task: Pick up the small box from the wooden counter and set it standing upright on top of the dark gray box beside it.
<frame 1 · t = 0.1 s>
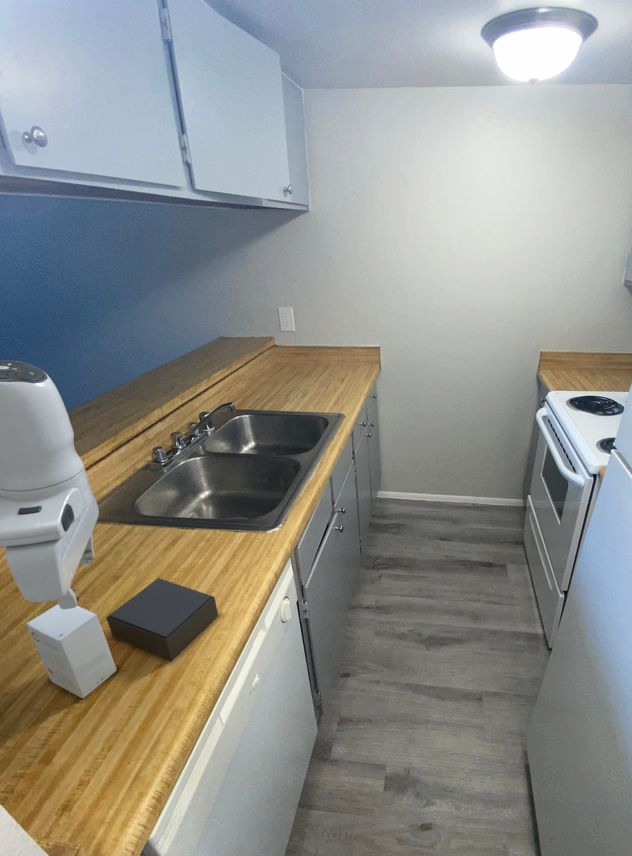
hand: (79, 581, 65), 25 cm above the worktop, tool pointing down, fingers open, 8 cm apart
small box: (85, 676, 80), on the worktop
dark gray box: (167, 626, 90), on the worktop
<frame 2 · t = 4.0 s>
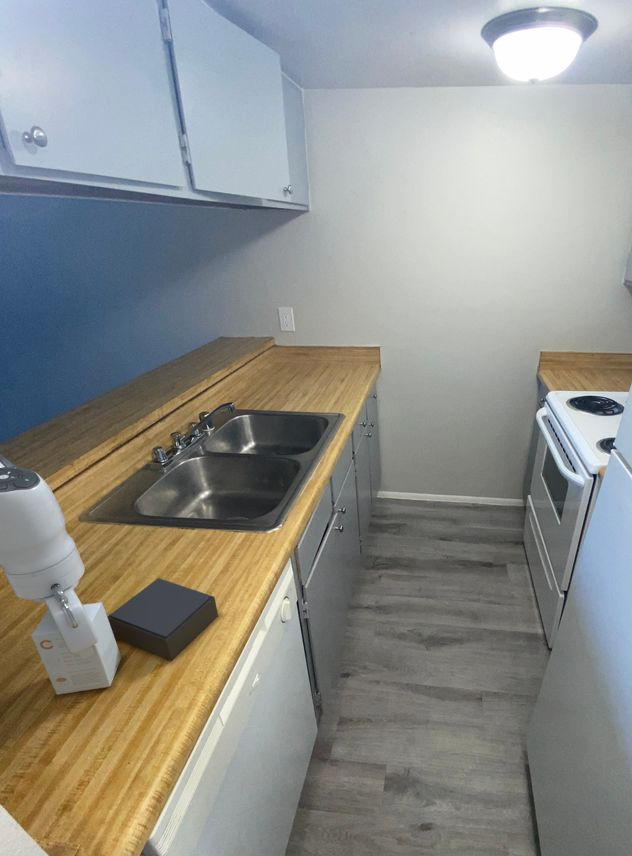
hand: (77, 637, 76), 9 cm above the worktop, tool pointing down, fingers open, 8 cm apart
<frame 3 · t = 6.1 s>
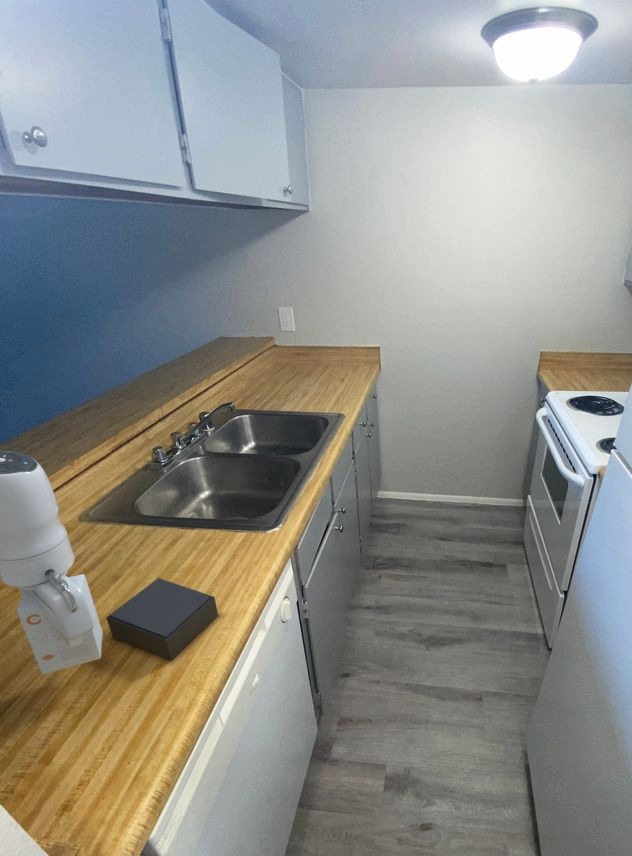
hand: (61, 629, 75), 11 cm above the worktop, tool pointing down, fingers closed on small box, 8 cm apart
small box: (74, 654, 77), point 5 cm above the worktop, touching gripper
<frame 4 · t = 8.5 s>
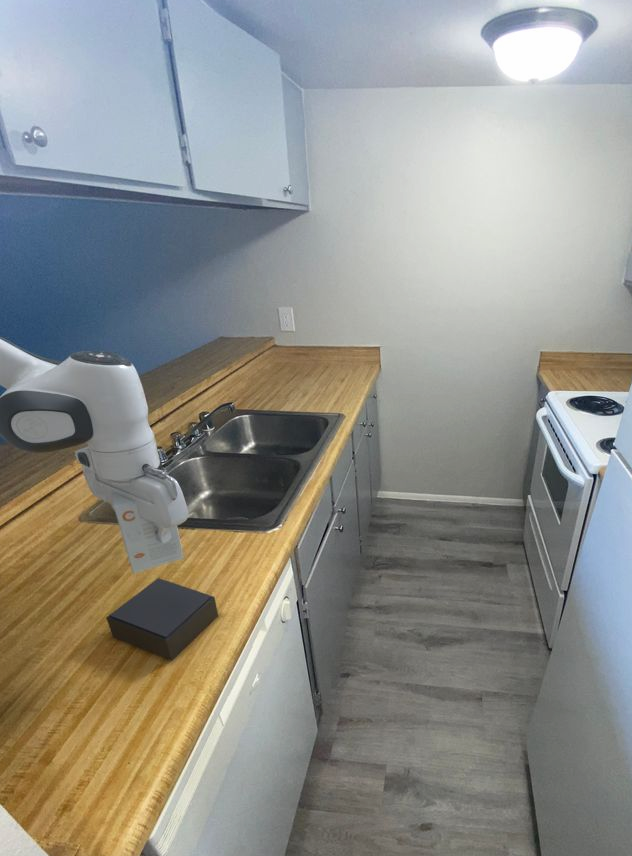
hand: (146, 532, 79), 23 cm above the worktop, tool pointing down, fingers closed on small box, 8 cm apart
small box: (156, 558, 82), point 17 cm above the worktop, touching gripper
when the fingers open (11 cm above the worktop, at t = 12.3 s): small box stays where it is, resting on dark gray box.
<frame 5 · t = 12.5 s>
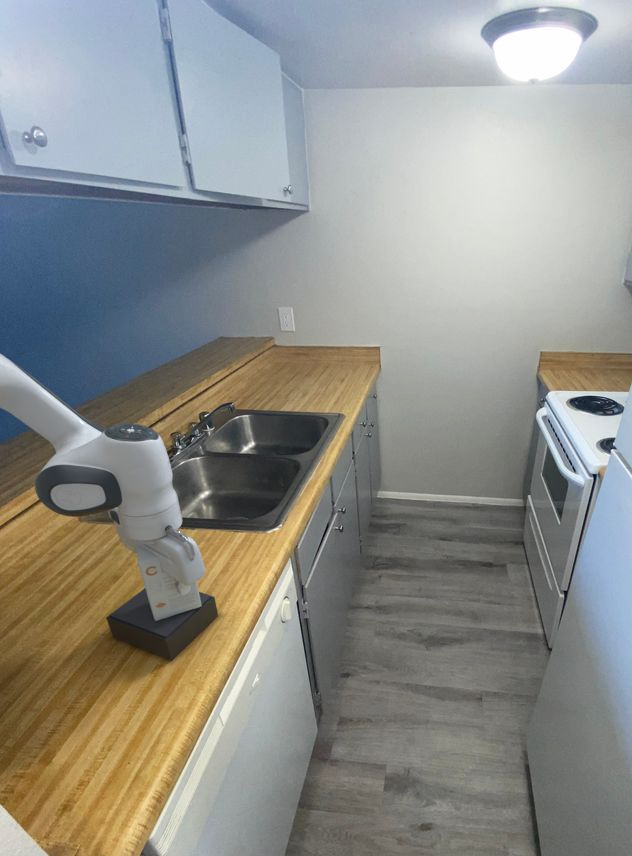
hand: (168, 581, 86), 11 cm above the worktop, tool pointing down, fingers open, 8 cm apart
small box: (176, 604, 89), point 5 cm above the worktop, touching dark gray box
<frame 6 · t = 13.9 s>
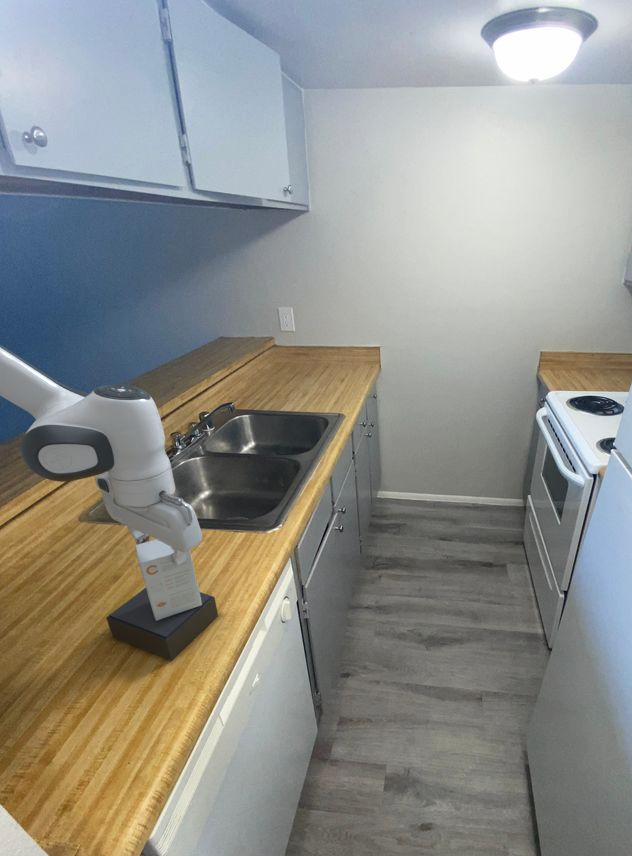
hand: (160, 553, 83), 17 cm above the worktop, tool pointing down, fingers open, 8 cm apart
small box: (176, 604, 89), point 5 cm above the worktop, touching gripper, dark gray box
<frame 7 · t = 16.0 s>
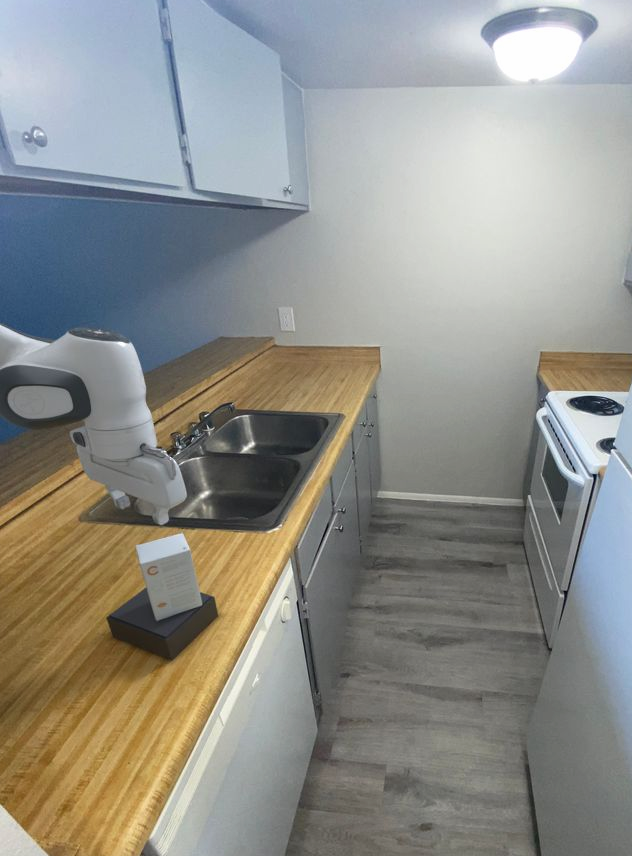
hand: (142, 514, 79), 26 cm above the worktop, tool pointing down, fingers open, 8 cm apart
small box: (176, 604, 89), point 5 cm above the worktop, touching dark gray box
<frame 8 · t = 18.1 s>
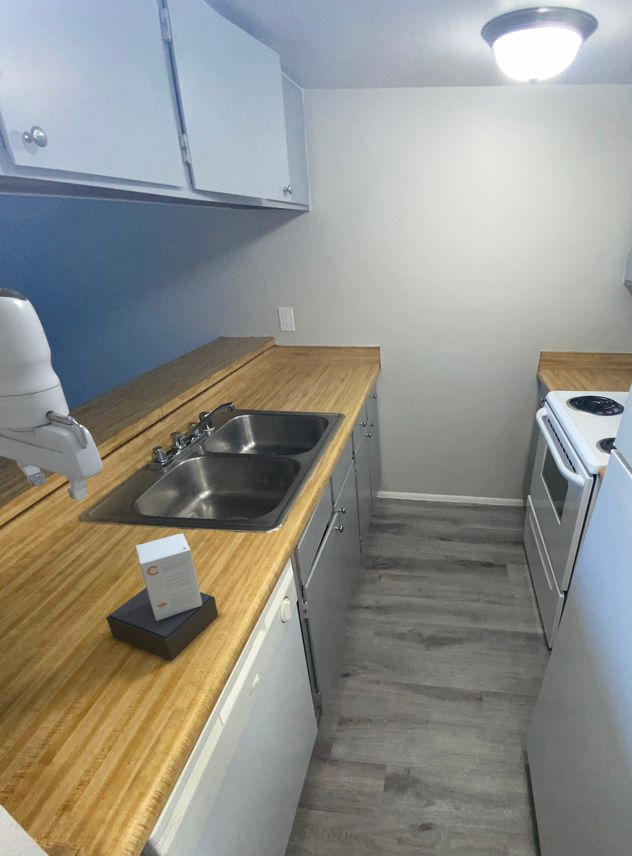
hand: (58, 490, 74), 31 cm above the worktop, tool pointing down, fingers open, 8 cm apart
nothing on the worktop moved.
at the end: small box inside the target area on the dark gray box (2.6 cm from its centre), point 5.2 cm above the dark gray box's base; small box tilted 0°; the gripper is holding nothing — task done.
